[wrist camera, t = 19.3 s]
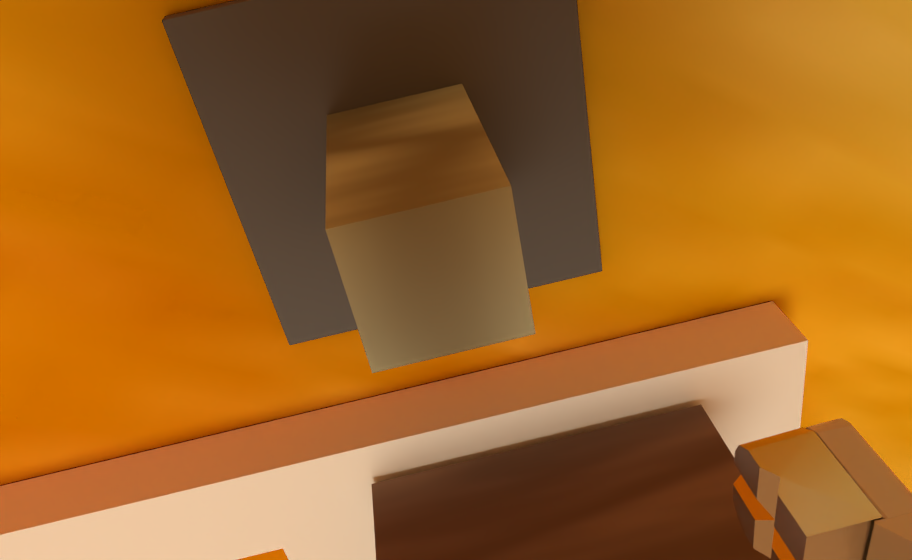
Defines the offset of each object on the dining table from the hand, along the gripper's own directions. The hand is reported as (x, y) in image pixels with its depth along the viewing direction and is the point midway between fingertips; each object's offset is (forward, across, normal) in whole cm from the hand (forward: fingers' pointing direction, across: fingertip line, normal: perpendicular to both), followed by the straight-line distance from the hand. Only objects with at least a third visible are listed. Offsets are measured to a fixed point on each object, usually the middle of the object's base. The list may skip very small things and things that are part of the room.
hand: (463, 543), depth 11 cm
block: (+14, -1, +1) cm, 14 cm away
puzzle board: (+14, +3, +17) cm, 22 cm away
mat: (+15, -1, +1) cm, 15 cm away
